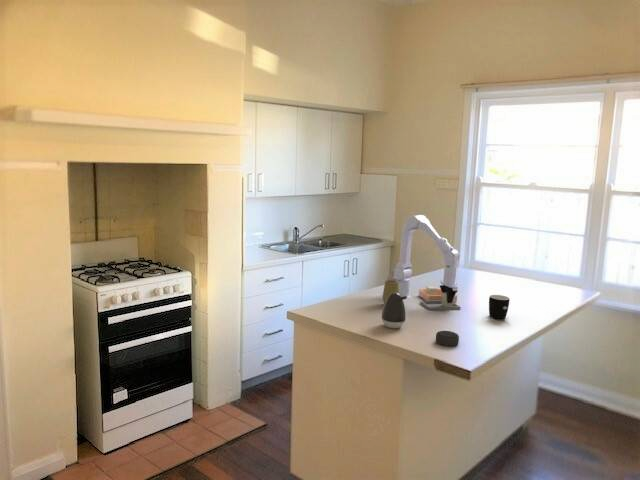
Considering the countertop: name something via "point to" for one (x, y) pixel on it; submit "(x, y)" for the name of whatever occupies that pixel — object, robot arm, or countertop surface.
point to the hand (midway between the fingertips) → (447, 301)
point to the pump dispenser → (394, 311)
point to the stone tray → (438, 305)
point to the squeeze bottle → (390, 286)
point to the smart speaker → (447, 338)
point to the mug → (498, 306)
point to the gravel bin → (433, 297)
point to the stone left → (431, 290)
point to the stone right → (444, 300)
